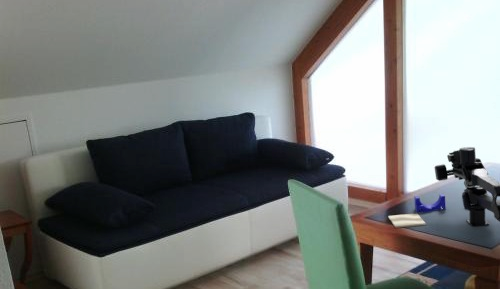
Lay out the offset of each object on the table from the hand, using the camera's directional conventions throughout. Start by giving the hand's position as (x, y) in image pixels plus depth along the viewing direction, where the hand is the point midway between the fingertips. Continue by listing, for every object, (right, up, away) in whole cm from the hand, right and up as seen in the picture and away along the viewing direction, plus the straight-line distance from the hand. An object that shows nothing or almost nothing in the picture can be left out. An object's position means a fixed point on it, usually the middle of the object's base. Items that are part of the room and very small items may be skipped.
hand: (450, 166), depth 221 cm
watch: (+11, -15, +4) cm, 19 cm away
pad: (-22, -22, -12) cm, 33 cm away
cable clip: (-9, -19, -2) cm, 21 cm away
